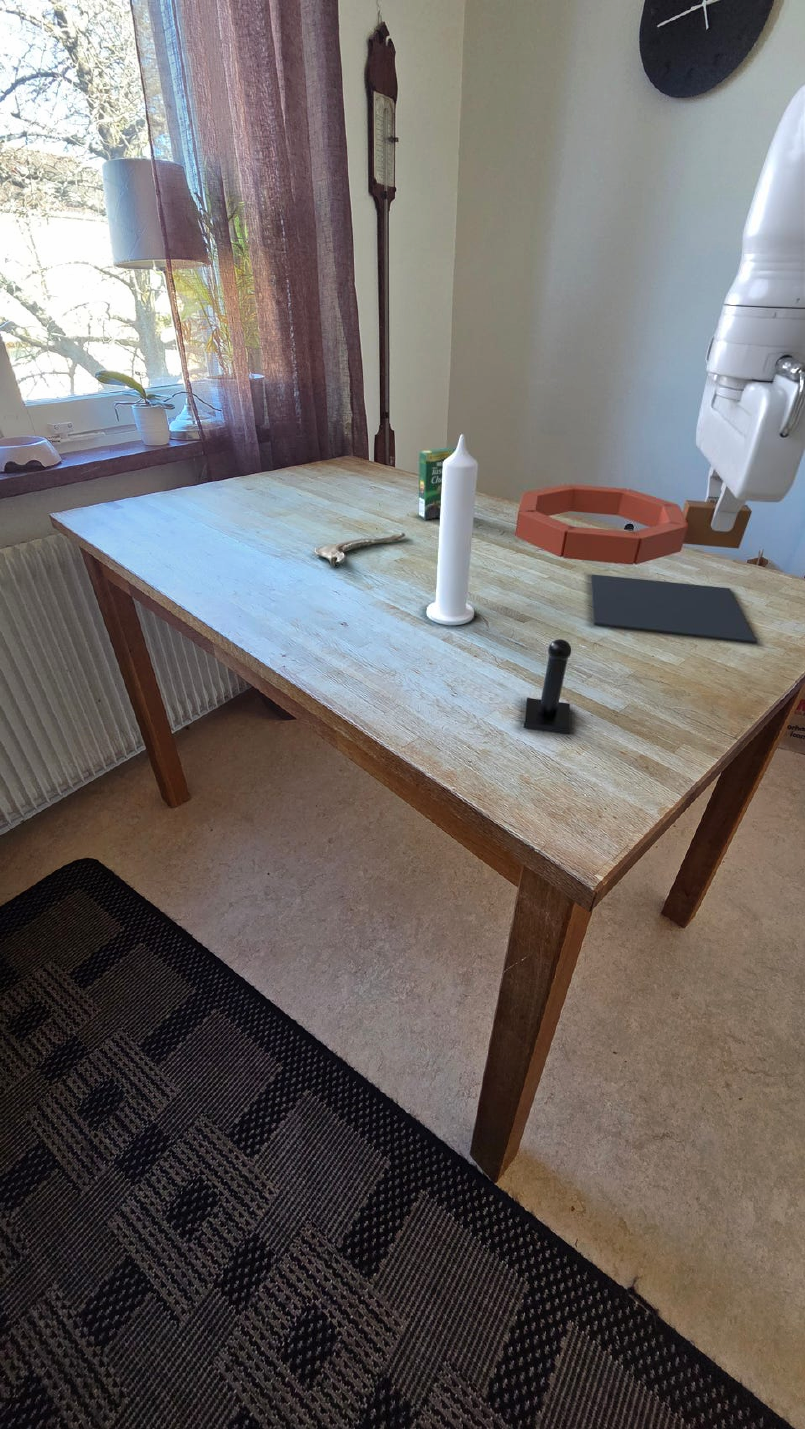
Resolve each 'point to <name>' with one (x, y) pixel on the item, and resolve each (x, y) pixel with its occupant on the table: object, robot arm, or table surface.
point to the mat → (668, 608)
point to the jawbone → (350, 547)
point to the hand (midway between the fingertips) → (715, 522)
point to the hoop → (614, 545)
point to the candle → (455, 538)
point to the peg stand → (551, 694)
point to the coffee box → (431, 481)
